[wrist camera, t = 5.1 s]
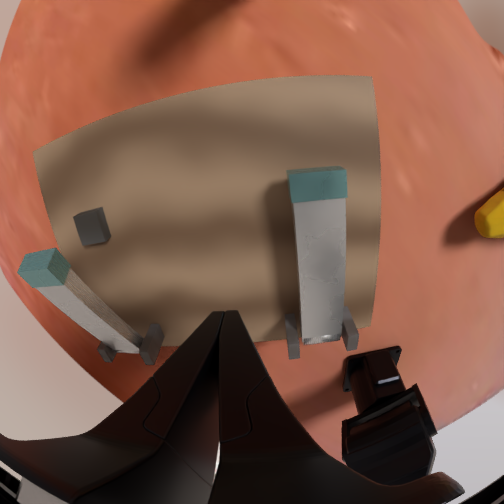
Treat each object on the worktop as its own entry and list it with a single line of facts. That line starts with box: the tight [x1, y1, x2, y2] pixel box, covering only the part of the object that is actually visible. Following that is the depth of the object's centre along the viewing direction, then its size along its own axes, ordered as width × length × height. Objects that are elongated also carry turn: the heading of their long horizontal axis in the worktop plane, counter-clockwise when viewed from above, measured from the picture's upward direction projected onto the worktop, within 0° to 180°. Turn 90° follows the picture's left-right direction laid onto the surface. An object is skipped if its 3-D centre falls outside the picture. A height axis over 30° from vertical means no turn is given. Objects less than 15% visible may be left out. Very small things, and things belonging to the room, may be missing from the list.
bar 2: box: [286, 166, 348, 345], centre depth 17 cm, size 13×3×1 cm, turn 8°
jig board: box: [33, 75, 381, 365], centre depth 18 cm, size 20×26×6 cm
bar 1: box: [17, 248, 144, 354], centre depth 17 cm, size 13×3×1 cm, turn 8°
